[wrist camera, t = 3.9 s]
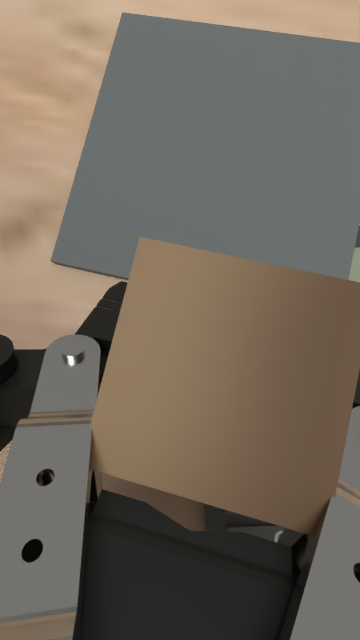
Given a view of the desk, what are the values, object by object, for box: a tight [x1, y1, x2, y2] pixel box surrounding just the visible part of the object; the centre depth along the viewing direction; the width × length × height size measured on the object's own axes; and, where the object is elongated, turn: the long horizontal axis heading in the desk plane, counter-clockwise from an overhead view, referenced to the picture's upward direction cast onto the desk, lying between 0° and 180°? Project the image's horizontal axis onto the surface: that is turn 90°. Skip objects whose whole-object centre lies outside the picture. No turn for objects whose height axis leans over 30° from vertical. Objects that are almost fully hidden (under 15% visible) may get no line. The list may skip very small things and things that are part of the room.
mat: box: [51, 13, 360, 280], centre depth 16 cm, size 14×14×1 cm
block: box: [90, 237, 360, 535], centre depth 10 cm, size 4×4×10 cm
